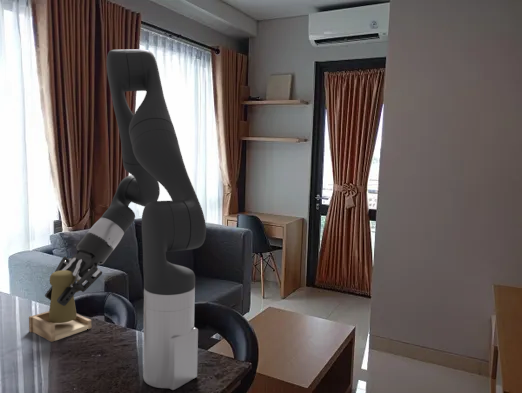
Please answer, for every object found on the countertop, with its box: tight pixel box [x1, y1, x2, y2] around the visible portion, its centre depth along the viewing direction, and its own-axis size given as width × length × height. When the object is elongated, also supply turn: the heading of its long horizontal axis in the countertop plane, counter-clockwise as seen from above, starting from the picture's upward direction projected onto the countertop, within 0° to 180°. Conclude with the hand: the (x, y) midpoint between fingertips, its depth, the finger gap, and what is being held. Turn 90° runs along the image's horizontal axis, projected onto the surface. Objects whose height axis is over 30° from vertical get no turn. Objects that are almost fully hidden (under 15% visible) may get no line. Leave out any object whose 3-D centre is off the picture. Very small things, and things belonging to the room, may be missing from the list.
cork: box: [48, 270, 78, 323], centre depth 99 cm, size 6×6×11 cm
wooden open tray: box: [28, 310, 92, 343], centre depth 100 cm, size 9×10×4 cm
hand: (54, 300), depth 98 cm, fingers closed on cork, 4 cm apart
